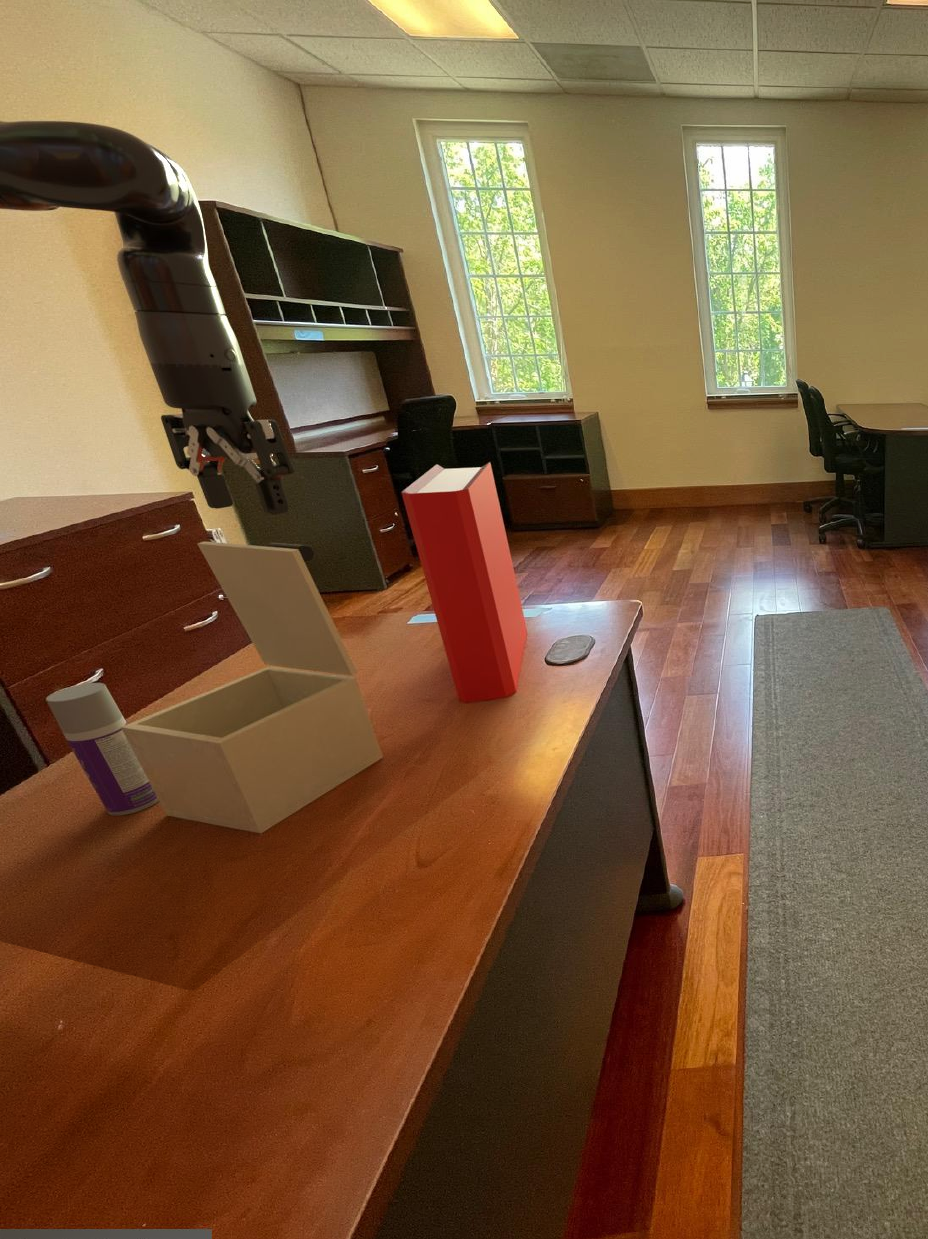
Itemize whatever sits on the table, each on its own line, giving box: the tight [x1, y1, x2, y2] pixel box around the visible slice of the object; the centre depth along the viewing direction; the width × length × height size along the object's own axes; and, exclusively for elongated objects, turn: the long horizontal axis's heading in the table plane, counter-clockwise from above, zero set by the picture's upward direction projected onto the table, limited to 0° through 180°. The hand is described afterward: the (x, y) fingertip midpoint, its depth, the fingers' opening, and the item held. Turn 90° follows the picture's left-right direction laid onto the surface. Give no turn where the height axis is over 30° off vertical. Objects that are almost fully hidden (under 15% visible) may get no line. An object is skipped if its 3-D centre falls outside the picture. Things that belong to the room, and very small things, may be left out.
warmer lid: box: [197, 540, 358, 677], centre depth 82 cm, size 17×14×5 cm
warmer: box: [121, 665, 384, 834], centre depth 80 cm, size 16×14×12 cm
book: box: [401, 461, 528, 704], centre depth 108 cm, size 27×8×32 cm, turn 21°
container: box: [45, 682, 160, 817], centre depth 76 cm, size 5×5×15 cm
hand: (249, 510), depth 78 cm, fingers open, 8 cm apart
